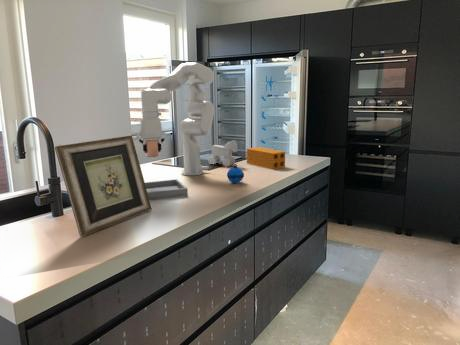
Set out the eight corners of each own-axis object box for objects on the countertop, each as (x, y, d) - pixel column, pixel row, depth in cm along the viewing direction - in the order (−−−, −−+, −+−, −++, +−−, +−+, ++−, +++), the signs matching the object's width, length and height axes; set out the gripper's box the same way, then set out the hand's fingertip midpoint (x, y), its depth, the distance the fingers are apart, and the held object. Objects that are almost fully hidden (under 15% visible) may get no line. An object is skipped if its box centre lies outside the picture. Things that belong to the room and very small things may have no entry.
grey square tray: (177, 185, 188) (177, 179, 188) (187, 195, 170) (187, 188, 169) (137, 190, 181) (136, 183, 180) (143, 201, 163) (143, 193, 162)
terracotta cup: (157, 154, 188) (156, 138, 186) (159, 156, 182) (158, 140, 181) (145, 155, 186) (144, 139, 184) (147, 157, 180) (146, 140, 179)
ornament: (224, 184, 190) (224, 165, 188) (230, 180, 198) (230, 162, 195) (240, 185, 187) (240, 166, 185) (245, 181, 195) (245, 162, 193)
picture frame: (82, 237, 123) (72, 147, 116) (64, 232, 128) (53, 145, 121) (152, 210, 150) (147, 136, 143) (134, 207, 155) (129, 135, 148)
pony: (241, 165, 238) (240, 139, 234) (232, 168, 229) (232, 141, 226) (215, 162, 248) (214, 137, 245) (206, 165, 240) (205, 139, 236)
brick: (285, 167, 229) (285, 151, 227) (272, 169, 224) (273, 153, 222) (258, 161, 250) (258, 147, 248) (246, 163, 244) (246, 148, 242)
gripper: (166, 114, 186) (168, 150, 190) (131, 115, 180) (133, 152, 184) (169, 115, 179) (171, 152, 183) (132, 116, 174) (135, 154, 177)
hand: (152, 151), depth 184 cm, fingers closed on terracotta cup, 6 cm apart
